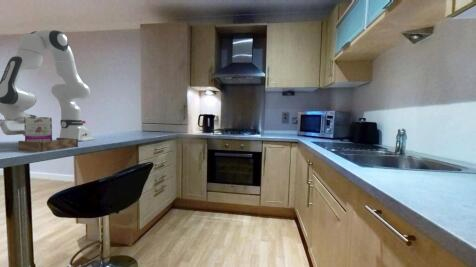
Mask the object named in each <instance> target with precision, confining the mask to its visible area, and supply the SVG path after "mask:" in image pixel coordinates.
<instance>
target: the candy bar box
mask: <svg viewBox="0 0 476 267" xmlns="http://www.w3.org/2000/svg"><path fill="white" fill-rule="evenodd" d="M24 124H25V136H24V141H32V142H48V141H53V126H52V125H53V122H52V117H51V116H46V117H45V116H37V117H24Z"/></svg>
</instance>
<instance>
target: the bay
mask: <svg viewBox="0 0 476 267" xmlns="http://www.w3.org/2000/svg"><path fill="white" fill-rule="evenodd" d="M55 139H56V140H52V141H48V142H32V141H25V140H18V151H25V150H28V152H38V151H39V152H48V151H56V150H64V149H72V148H78V147H79V141H78V139H72V138H59V137H56V138H55Z"/></svg>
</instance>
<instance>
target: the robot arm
mask: <svg viewBox="0 0 476 267" xmlns="http://www.w3.org/2000/svg"><path fill="white" fill-rule="evenodd" d="M45 51H51V53H52V55H53V62H54V66H55V70H56V74H57V75H58V76H59V77H61V78H62V80H63V82H59V83H55V84H53V85H52V87H51V93H52V95H53V97H55V99H57V101H58V103H59V107H60V116H61V117H60V118H61V119H60V122H59V123H60V132H59V137H58V138H72V139H78V142H86V141H91V140H92V141H93V140H96V137H93V136H92V133H91V132H92V131H91V130H89V128H87V127H86V126H84V124H86V123H87V121H86V120H82V109H81V107H80V106H78V104H77V102H76V101H75V100H77V101H78V100H79V101H80V100H85V99H88V98H89V97H90V96H91V88H90V87H89V86H88V85H87V84H85V83H84V81H83V80H82V79H81V77H80V76H79V73H78V70H77V65H76V60H75V56H74V53H73V51H72V49H71V46H69V39H68V37H67V36H66V34H65V33H64V32H63V31H60V30H49V29H46V30H45V29H44V30H36V31H32V32H30V33H25V34H23V36H22V37H21V38H20V41H19V44H18V48H17V53H16V54H15V55H14V56H12V57H11V58H10V59H9V60H8V61H7V64H6V66H5V69H4V71H3V74H2V77H1V79H0V115H1V116H3V118H4V119H3V118H2V119H0V129H1V131H2V133H3V134H4V135H6V136H14V135H15V136H16V135H22V136H23V137H25V124H24V117H38V115H34V114H31V113H27V112H25V111H28V109H30V108H32V107H34V106H35V105H36V102H37V96H36V95H35V93H34V92H31V91H29V90H26V89H23V88H20V87H18V86H17V83H18V80H19V78H20V75H21V73H22V71H24V70H35V69H38V68H40V67H41V66H42V64H43V61H44V56H45V55H44V54H45Z"/></svg>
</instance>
